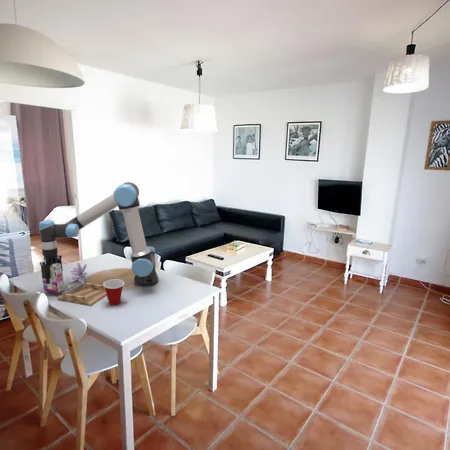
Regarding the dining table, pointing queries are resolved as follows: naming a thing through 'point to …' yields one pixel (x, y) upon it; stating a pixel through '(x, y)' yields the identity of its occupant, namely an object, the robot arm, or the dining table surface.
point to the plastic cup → (114, 290)
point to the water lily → (78, 273)
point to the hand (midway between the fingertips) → (54, 286)
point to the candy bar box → (55, 278)
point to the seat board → (83, 294)
